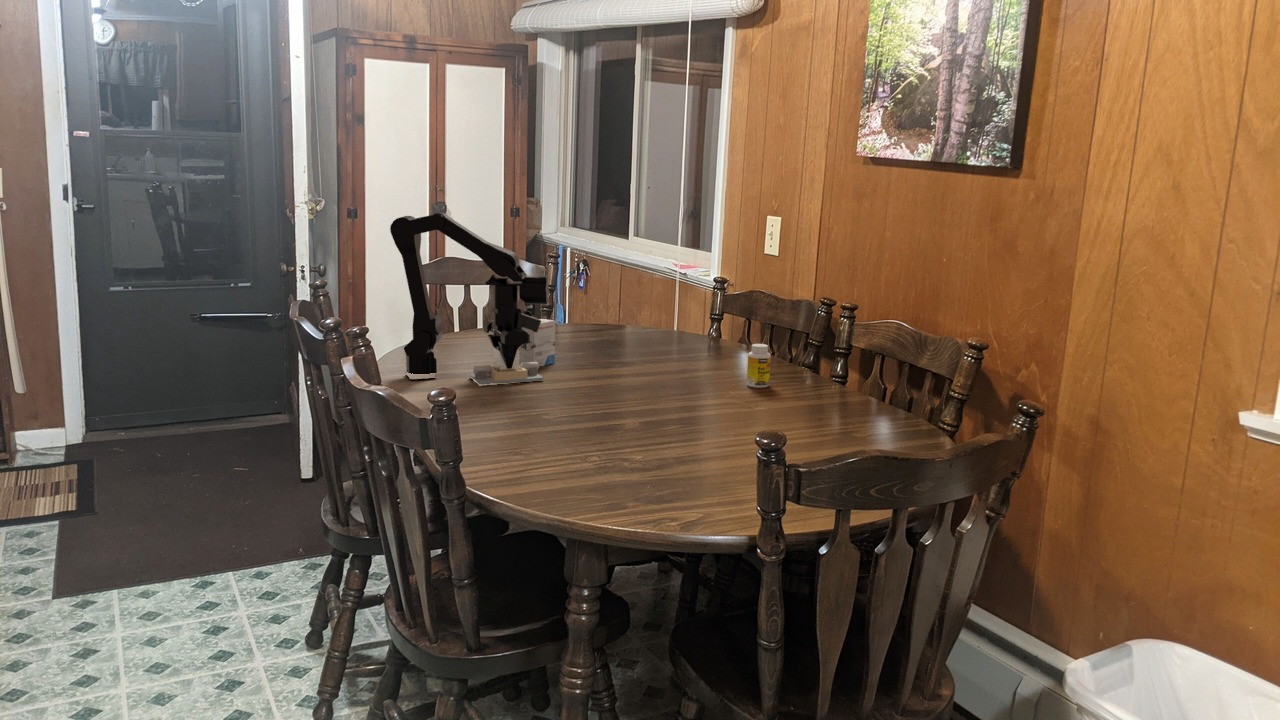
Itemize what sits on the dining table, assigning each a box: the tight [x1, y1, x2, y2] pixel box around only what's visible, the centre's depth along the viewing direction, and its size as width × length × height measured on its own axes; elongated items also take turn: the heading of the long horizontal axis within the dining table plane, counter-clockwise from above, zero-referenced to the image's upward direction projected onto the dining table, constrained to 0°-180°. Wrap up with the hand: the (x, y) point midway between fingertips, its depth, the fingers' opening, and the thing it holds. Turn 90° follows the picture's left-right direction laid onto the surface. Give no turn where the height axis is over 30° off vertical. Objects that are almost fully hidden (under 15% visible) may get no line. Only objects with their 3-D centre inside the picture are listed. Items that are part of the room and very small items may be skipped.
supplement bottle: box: [746, 343, 772, 389], centre depth 245 cm, size 6×6×10 cm
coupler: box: [493, 346, 520, 372], centre depth 245 cm, size 5×5×7 cm
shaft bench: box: [469, 362, 544, 384], centre depth 246 cm, size 16×9×4 cm, turn 115°
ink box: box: [520, 318, 557, 367], centre depth 262 cm, size 9×5×12 cm, turn 143°
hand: (506, 366), depth 245 cm, fingers open, 5 cm apart
